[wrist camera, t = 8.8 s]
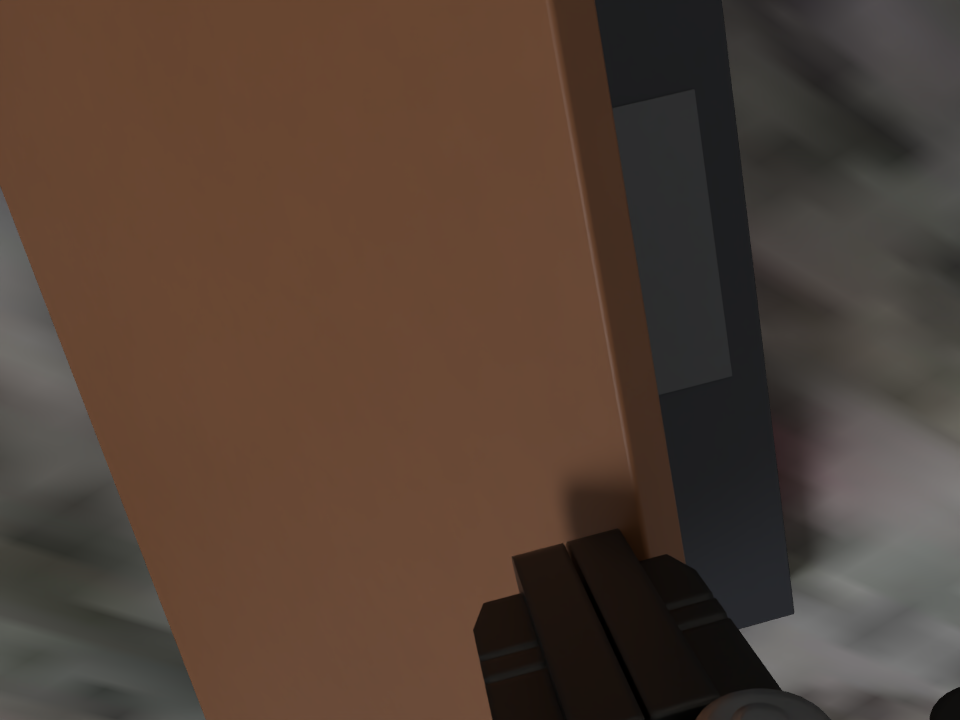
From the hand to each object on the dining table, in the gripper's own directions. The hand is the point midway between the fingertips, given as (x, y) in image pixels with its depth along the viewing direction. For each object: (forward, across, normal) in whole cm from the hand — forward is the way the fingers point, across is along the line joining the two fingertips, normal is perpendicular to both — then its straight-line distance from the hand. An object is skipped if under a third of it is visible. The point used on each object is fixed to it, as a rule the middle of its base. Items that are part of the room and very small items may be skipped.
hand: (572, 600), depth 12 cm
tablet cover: (+9, +5, 0) cm, 10 cm away
